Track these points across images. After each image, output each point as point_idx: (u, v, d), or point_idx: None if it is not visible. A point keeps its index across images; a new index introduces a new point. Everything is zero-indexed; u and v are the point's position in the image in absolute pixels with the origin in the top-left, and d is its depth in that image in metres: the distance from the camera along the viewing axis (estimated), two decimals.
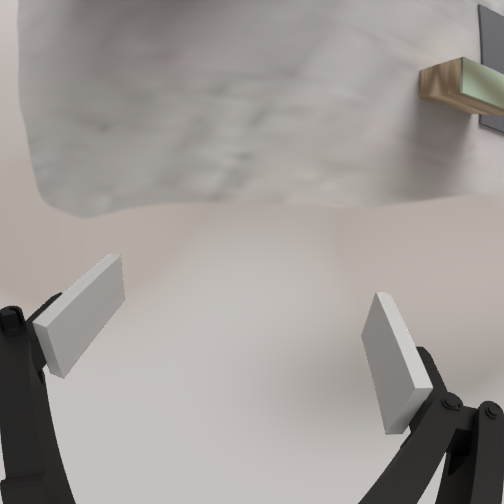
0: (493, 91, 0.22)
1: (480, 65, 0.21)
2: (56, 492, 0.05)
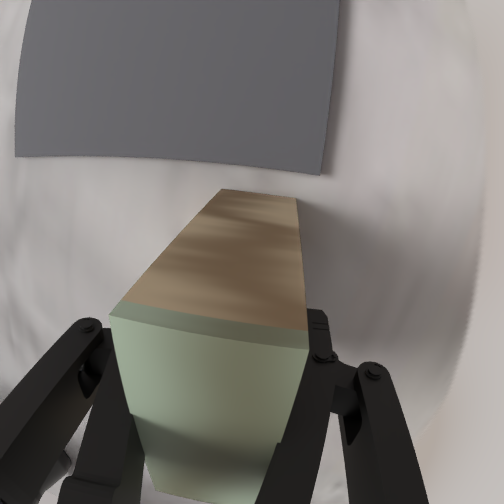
0: (221, 460, 0.08)
1: (152, 468, 0.09)
2: (123, 503, 0.05)
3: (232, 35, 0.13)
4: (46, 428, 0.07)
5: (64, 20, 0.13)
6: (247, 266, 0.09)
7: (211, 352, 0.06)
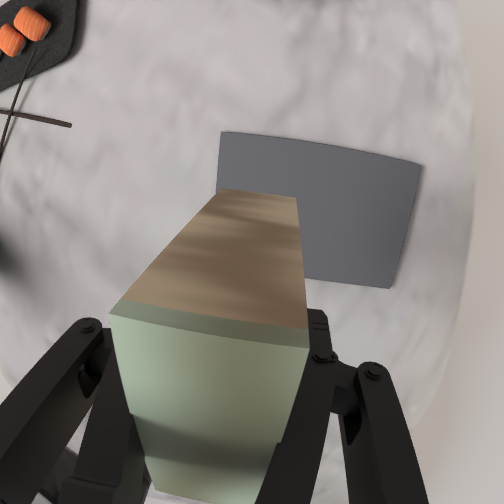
0: (221, 460, 0.08)
1: (151, 468, 0.09)
2: (123, 503, 0.05)
3: (361, 224, 0.31)
4: (46, 428, 0.07)
5: (256, 186, 0.30)
6: (247, 264, 0.09)
7: (211, 351, 0.06)
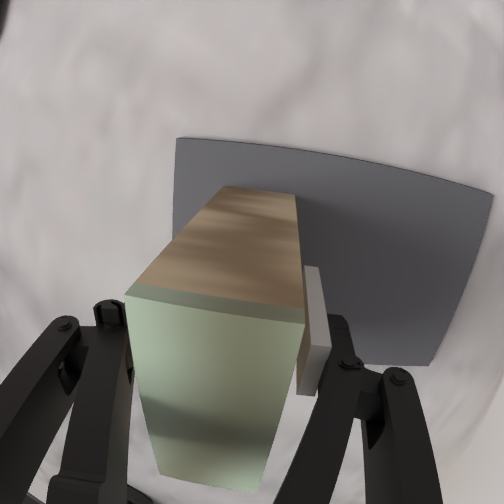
0: (224, 439, 0.08)
1: (157, 450, 0.09)
2: (110, 499, 0.05)
3: (402, 286, 0.19)
4: (31, 425, 0.07)
5: None
6: (249, 254, 0.09)
7: (217, 327, 0.07)
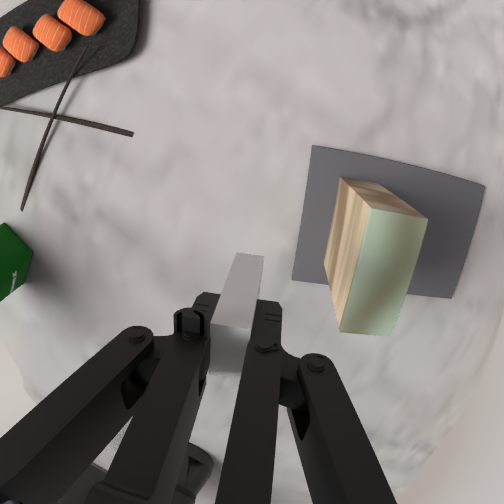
0: (390, 284, 0.20)
1: (350, 305, 0.21)
2: None
3: (434, 240, 0.30)
4: (80, 437, 0.07)
5: None
6: (392, 202, 0.21)
7: (402, 220, 0.18)
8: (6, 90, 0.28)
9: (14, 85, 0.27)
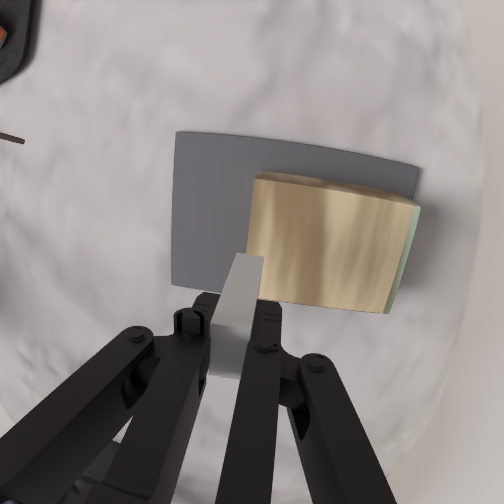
0: None
1: None
2: None
3: None
4: (80, 438, 0.07)
5: (218, 195, 0.26)
6: (372, 191, 0.23)
7: None
8: None
9: None
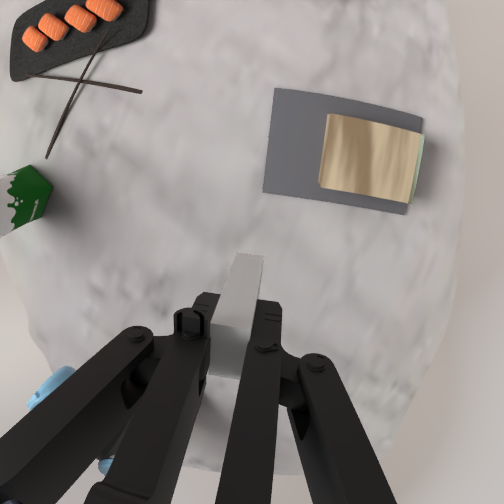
0: None
1: None
2: None
3: None
4: (80, 437, 0.07)
5: (301, 128, 0.38)
6: None
7: None
8: (39, 62, 0.36)
9: (47, 58, 0.36)
